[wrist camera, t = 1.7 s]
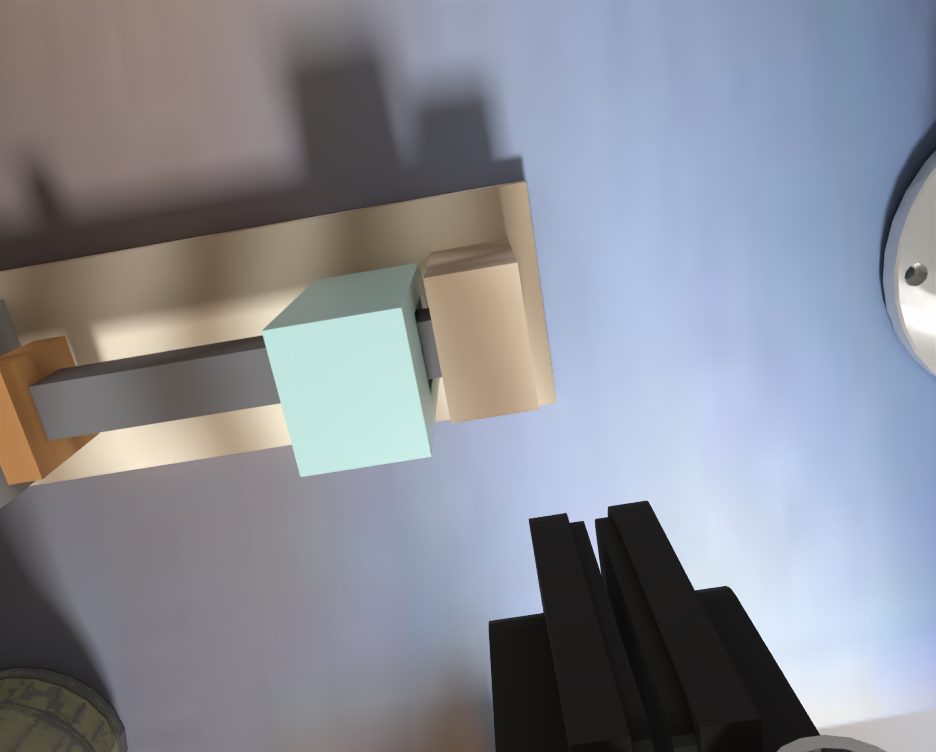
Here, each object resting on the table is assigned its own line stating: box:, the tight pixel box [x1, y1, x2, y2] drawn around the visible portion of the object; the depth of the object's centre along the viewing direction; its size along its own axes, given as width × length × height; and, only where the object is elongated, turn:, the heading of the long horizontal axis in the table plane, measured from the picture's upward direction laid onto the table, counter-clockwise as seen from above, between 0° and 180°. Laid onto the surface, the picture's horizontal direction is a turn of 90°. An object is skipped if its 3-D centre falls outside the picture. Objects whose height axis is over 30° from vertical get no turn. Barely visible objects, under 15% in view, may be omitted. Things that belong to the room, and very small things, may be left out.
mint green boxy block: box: [262, 263, 440, 477], centre depth 24 cm, size 4×5×8 cm
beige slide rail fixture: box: [0, 180, 557, 509], centre depth 26 cm, size 26×9×9 cm, turn 100°
